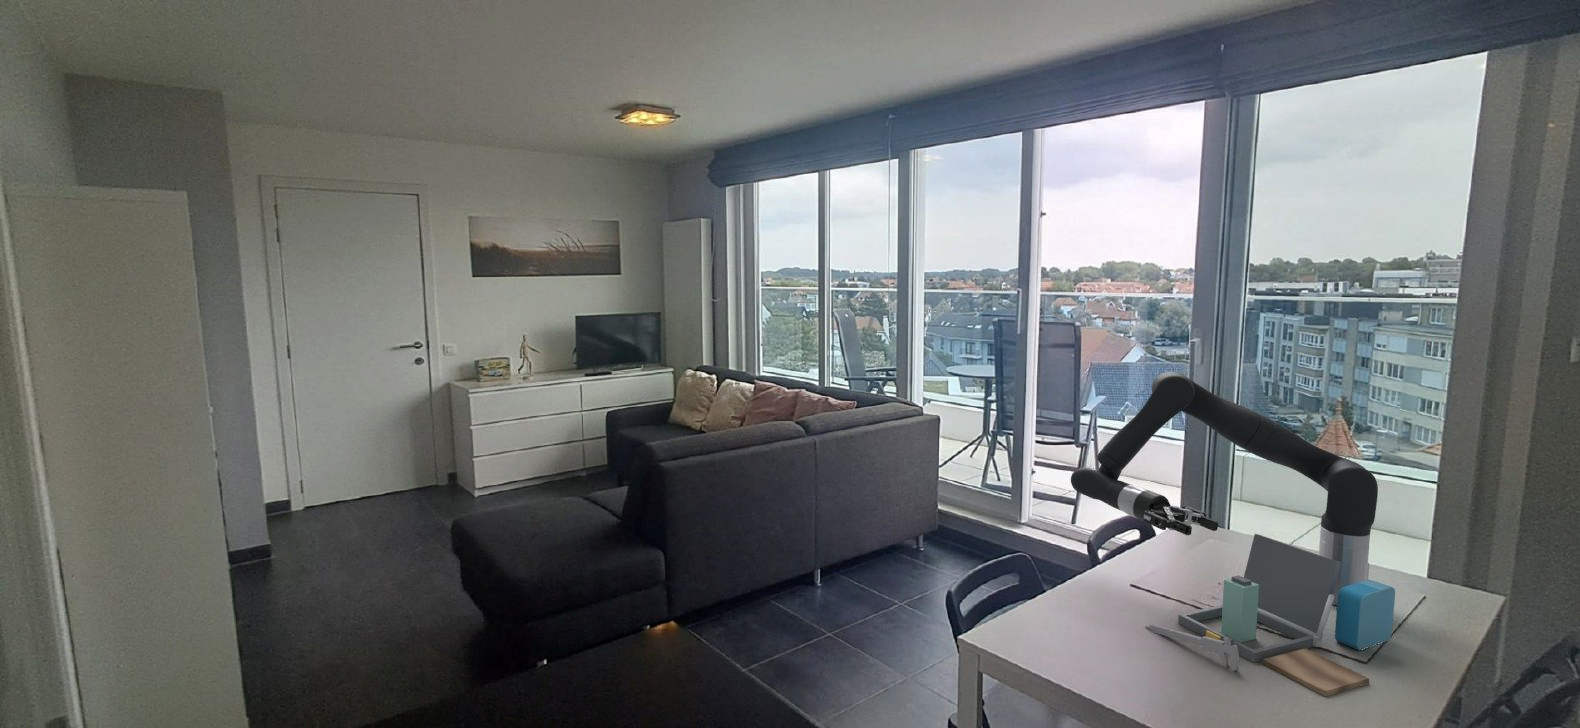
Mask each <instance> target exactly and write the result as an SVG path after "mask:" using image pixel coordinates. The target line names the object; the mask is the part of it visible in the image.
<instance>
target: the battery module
mask: <svg viewBox="0 0 1580 728" xmlns="http://www.w3.org/2000/svg"><path fill="white" fill-rule="evenodd" d="M1222 591H1223V592H1222V605H1223V607H1222V616H1221V625H1220V626H1221V627H1220V633H1221V634H1223V635H1225V636H1227V637H1229V638H1231V639H1233V640H1235V641H1237V642H1239V643H1241V644H1242V643H1244V642H1245V643H1246V642H1249V641H1252V640H1256V639H1257V622H1258V621H1257V610H1258V594H1259V585H1258V584H1256V583H1253V582H1252V581H1251V580H1249V579H1246V578H1244V576H1241V575H1234V576H1231V578H1227V579H1224V580H1223V590H1222Z"/></svg>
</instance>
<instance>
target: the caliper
mask: <svg viewBox="0 0 1580 728" xmlns="http://www.w3.org/2000/svg"><path fill="white" fill-rule="evenodd" d="M1144 628H1145V629H1149V631H1151V632H1154V633H1156V634H1158V635H1162V636H1165V637H1169V638H1172V639H1176V640H1179V641H1183V642H1186V643H1189V644H1190V643H1191V644H1193V645H1197V646H1200V647H1202V650H1203V652H1209V653H1210V654H1211V653H1218V656H1219V658H1220V660H1221V664H1222V665H1223V667H1225V668H1226V669H1227V668H1230V664H1231V667H1232V671H1233V672H1235V671H1237V670H1239V669H1240V668H1239V667H1240V655H1239V652H1238V648H1237V645H1234V641H1233V640H1234V639H1232V638H1231V640H1229V639H1228V638H1227V637H1228V636H1227V637H1226V638H1224V641H1221V640H1217V639H1213V638H1209V637H1205V636H1202V637H1201V636H1197V635H1194V634H1190V633H1187V632H1184V631H1180V630H1176V629H1174V628H1170V627H1165V626H1163V625H1160V624H1159V625H1158V624H1155V623H1152V624H1148V625H1145V626H1144ZM1229 659H1230V660H1229Z"/></svg>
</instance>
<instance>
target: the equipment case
mask: <svg viewBox="0 0 1580 728" xmlns="http://www.w3.org/2000/svg"><path fill="white" fill-rule="evenodd" d="M1252 539H1253V540H1252V542H1251V548H1250V551H1249V555H1248V559H1247V563H1246V566H1245V570H1244V574H1243V577H1244V578H1246V579H1249V580H1251V581H1252V582H1253V583H1256V584H1258V585H1259V594H1258V610H1257V622H1258V623H1261V624H1263V625H1265V626H1267V627H1269V628H1271V629H1274V630H1276V631H1278V632H1279V633H1282V634H1284V633H1285V634H1284V635H1286V634H1287V636H1288V635H1289V637H1290V638H1293V637H1294V638H1293V639H1291V640H1287V641H1283V642H1279V643H1278V642H1277V643H1275V644H1271V645H1267V646H1264V647H1259V648H1255V649H1253V648H1251V647H1249V646H1247V645H1246V644H1243V643H1242V642H1241V643H1240V642H1238V641H1236V640H1234V639H1233V641H1234V645H1237V648H1238V652H1239V656H1241V657H1242V658H1245V659H1247V660H1249V661H1251V662H1252V663H1258V662H1261V661H1262V662H1263V659H1266V658H1270V657H1274V656H1277V655H1281V654H1285V653H1289V652H1293V651H1297V650H1301V649H1304V648H1306V649H1308V650H1309V649H1311V648H1320V647H1322V646H1323V636H1324V632H1325V629H1326V626H1327V622H1328V618H1329V615H1330V612H1331V610H1332V606H1333V600H1334V595H1333V593H1334V589H1335V585H1336V582H1337V578H1338V574H1339V570H1340V566H1341V562H1338V561H1335V560H1332V559H1329V558H1326V557H1324V556H1321V555H1319V553H1318V554H1317V553H1314V552H1312V551H1308V550H1305V549H1303V548H1300V547H1296V546H1294V545H1290V544H1288V543H1286V542H1282V541H1279V540H1276V539H1273V538H1271V537H1268V536H1264V535H1262V534H1259V533H1254V535H1253V538H1252ZM1222 607H1223V604H1219V605H1215V606H1211V607H1206V608H1201V609H1196V610H1194V611H1192V610H1191V611H1187V612H1184V613H1183V612H1182V613H1178V617H1177V618H1178V619H1177V620H1178V621H1177V623H1178V624H1180V625H1181V626H1183V627H1185V628H1187V629H1189V630H1191V631H1192V632H1195V633H1196V632H1197V634H1199V635H1200V636H1202V637H1204V636H1205V637H1209V638H1213V639H1217V640H1221V641H1224V638H1226V637H1227V638H1228V639H1229V640H1231V639H1232V638H1230V637H1228V636H1226V635H1224V634H1222V633H1221V632H1219V631H1217V630H1215V629H1213V628H1212V627H1209V626H1208V625H1206V624H1203V623H1202V622H1201V621H1205V620H1209V619H1213V618H1217V617H1218V618H1219V617H1222Z"/></svg>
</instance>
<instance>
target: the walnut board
mask: <svg viewBox="0 0 1580 728" xmlns="http://www.w3.org/2000/svg"><path fill="white" fill-rule="evenodd" d="M1262 665H1264V666H1266V667H1267V668H1269V669H1271V670H1273V671H1275V672H1276V673H1279V674H1281V675H1283V676H1285V677H1287V678H1289V679H1290V680H1293V681H1294V682H1296V683H1297V684H1300V685H1302V686H1304V687H1306V688H1307V689H1311V690H1312V691H1314V692H1315V693H1317V694H1319V695H1321V696H1324V697H1327V696H1331V695H1334V694H1339V693H1341V692H1345V691H1348V690H1351V689H1355V688H1359V687H1361V685H1362V686H1364V685H1368V684H1370V678H1369V677H1367V676H1365V675H1363V674H1361V673H1359V672H1356V671H1355V670H1352V669H1351V668H1348V667H1346V666H1344V665H1342V664H1339V663H1338V662H1335V661H1333V660H1331V659H1329V658H1327V657H1325V656H1322V655H1320V654H1318V653H1316V652H1314V651H1312V650H1309V648H1308V649H1306V648H1304V649H1301V650H1297V651H1293V652H1289V653H1285V654H1281V655H1277V656H1274V657H1270V658H1266V659H1263V660H1262ZM1367 683H1368V684H1367Z"/></svg>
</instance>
